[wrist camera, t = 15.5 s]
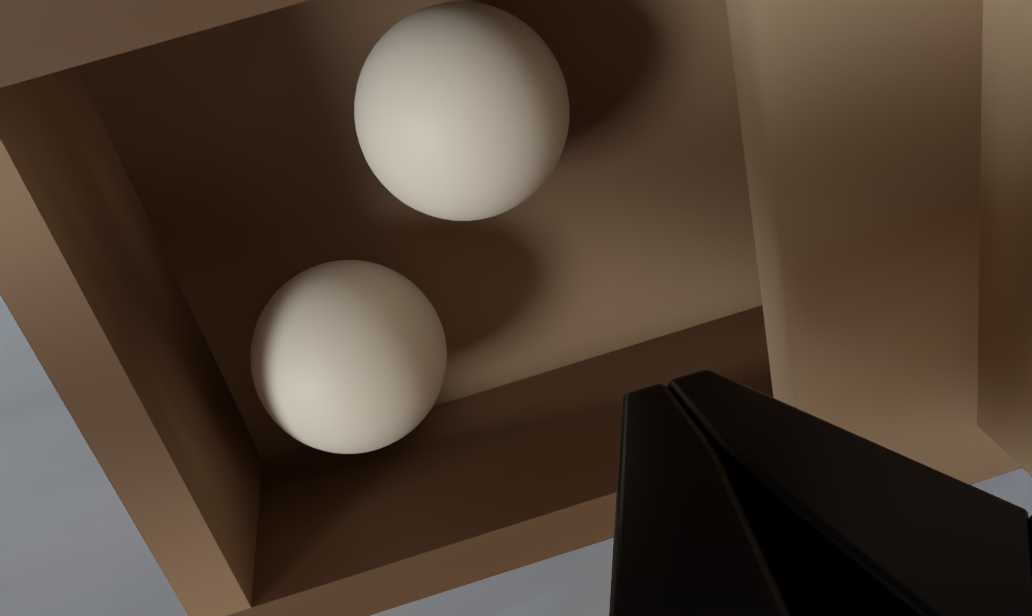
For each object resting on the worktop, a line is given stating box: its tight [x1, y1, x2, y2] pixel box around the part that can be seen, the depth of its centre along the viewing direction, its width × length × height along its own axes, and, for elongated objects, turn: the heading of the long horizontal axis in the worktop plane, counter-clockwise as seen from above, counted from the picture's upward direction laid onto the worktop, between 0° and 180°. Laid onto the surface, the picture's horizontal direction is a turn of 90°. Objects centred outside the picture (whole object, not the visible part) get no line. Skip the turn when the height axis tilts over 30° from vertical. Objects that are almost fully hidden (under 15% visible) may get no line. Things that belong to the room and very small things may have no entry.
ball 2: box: [354, 1, 570, 221], centre depth 12 cm, size 3×3×3 cm
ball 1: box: [250, 260, 447, 454], centre depth 14 cm, size 3×3×3 cm
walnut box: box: [0, 0, 774, 616], centre depth 13 cm, size 9×12×4 cm
